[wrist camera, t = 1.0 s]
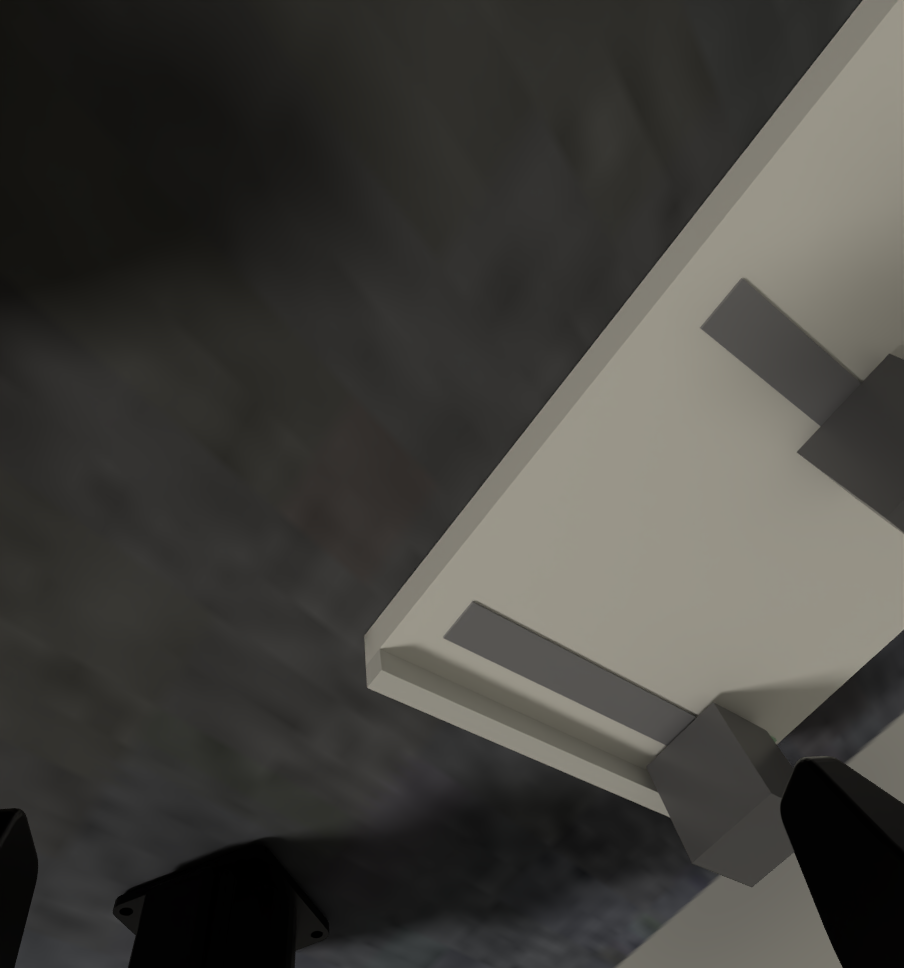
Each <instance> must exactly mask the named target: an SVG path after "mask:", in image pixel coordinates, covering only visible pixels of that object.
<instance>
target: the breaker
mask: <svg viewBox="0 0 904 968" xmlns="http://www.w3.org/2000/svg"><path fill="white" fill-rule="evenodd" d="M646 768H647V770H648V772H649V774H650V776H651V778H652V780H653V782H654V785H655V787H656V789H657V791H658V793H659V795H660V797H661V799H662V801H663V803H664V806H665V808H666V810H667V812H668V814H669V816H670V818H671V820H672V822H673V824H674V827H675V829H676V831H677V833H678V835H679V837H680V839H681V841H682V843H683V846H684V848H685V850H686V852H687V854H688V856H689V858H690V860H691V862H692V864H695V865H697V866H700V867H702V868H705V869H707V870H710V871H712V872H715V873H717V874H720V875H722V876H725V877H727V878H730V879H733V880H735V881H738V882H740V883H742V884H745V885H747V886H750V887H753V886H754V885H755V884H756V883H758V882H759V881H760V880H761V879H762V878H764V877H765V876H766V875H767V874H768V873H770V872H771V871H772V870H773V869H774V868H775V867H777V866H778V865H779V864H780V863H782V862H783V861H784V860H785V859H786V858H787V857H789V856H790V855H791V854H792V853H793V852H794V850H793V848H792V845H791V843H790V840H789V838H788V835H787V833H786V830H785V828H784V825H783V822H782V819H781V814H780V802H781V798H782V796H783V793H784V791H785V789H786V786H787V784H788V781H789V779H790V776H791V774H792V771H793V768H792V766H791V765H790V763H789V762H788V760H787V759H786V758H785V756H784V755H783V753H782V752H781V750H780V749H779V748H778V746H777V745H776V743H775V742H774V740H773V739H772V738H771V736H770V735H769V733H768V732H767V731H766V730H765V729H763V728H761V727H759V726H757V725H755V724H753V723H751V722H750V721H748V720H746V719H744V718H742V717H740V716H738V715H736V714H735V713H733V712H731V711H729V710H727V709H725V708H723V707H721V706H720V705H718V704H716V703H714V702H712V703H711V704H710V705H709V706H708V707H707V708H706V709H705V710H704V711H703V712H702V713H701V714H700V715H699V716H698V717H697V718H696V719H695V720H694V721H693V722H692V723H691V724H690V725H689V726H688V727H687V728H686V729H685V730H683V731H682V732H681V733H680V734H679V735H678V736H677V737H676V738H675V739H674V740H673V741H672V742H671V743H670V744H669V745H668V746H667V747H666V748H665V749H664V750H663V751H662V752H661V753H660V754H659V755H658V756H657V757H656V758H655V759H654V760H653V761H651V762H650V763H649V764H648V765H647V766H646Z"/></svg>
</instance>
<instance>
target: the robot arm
mask: <svg viewBox="0 0 904 968" xmlns="http://www.w3.org/2000/svg"><path fill="white" fill-rule="evenodd" d="M780 814H781V819H782V822H783V825H784V828H785V830H786V833H787V835H788V838H789V840H790V843H791V845H792V848H793V850H794V853H795V855H796V858H797V860H798V863H799V865H800V867H801V870H802V873H803V875H804V877H805V880H806V882H807V885H808V888H809V890H810V892H811V895H812V898H813V900H814V903H815V905H816V907H817V910H818V912H819V915H820V918H821V920H822V922H823V925H824V928H825V930H826V932H827V934H828V936H829V939H830V941H831V944H832V946H833V948H834V950H835V952H836V955H837V957H838V959H839V961H840V963H841V965H842V967H843V968H904V804H903V803H901V802H900V801H898V800H897V799H896V798H894V797H893V796H891V795H890V794H888V793H887V792H885V791H884V790H882V789H881V788H879V787H878V786H876V785H875V784H874V783H872V782H871V781H869V780H868V779H866V778H865V777H863V776H862V775H860V774H859V773H857V772H856V771H854V770H853V769H851V768H850V767H849V766H847V765H846V764H844V763H843V762H841V761H839V760H838V759H836V758H834V757H830V756H817V757H804V758H801V759H800V760H799V761H797V763H796V764H795V766H794V769H793V771H792V774H791V776H790V779H789V781H788V784H787V786H786V789H785V791H784V793H783V796H782V798H781V802H780ZM37 874H38V858H37V853H36V849H35V846H34V842H33V838H32V835H31V831H30V828H29V824H28V820H27V817H26V815H25V813H24V812H23V811H22V810H21V809H17V808H11V809H0V968H14V967H15V963H16V959H17V955H18V952H19V948H20V944H21V940H22V936H23V932H24V928H25V924H26V920H27V916H28V912H29V908H30V905H31V901H32V897H33V893H34V889H35V885H36V880H37ZM113 914H114V916H115V917H116V918H117V919H119V920H120V921H121V922H122V923H123V924H124V925H125V926H126V927H127V928H128V929H129V930H131V931H132V932H133V933H134V934H135V935H136V936H135V940H134V945H133V949H132V953H131V957H130V961H129V965H128V968H295V951H296V950H298V949H301V948H304V947H306V946H309V945H312V944H314V943H317V942H319V941H322V940H324V939H326V938H327V937H328V935H329V923H328V921H327V920H326V918H325V917H324V916H323V915H322V914H321V912H320V911H319V910H318V909H317V907H316V906H315V905H314V904H313V903H312V901H311V900H310V899H309V898H308V897H307V895H306V894H305V893H304V892H303V891H302V889H301V888H300V887H299V886H298V885H297V883H296V882H295V881H294V880H293V878H292V877H291V876H290V875H289V874H288V872H287V871H286V870H285V869H284V868H283V866H282V865H281V864H280V863H279V862H278V860H277V859H276V858H275V857H274V855H273V854H272V853H271V852H270V851H269V849H268V848H266V847H265V846H263V845H251V846H248V847H245V848H243V849H240V850H237V851H235V852H232V853H230V854H227V855H224V856H222V857H219V858H217V859H214V860H211V861H209V862H206V863H204V864H201V865H198V866H196V867H193V868H191V869H188V870H185V871H183V872H180V873H178V874H175V875H172V876H170V877H167V878H165V879H162V880H159V881H157V882H154V883H152V884H149V885H147V886H144V887H141V888H139V889H136V890H134V891H131V892H128V893H126V894H123V895H121V896H119V897H118V898H117V899H116V901H115V905H114V908H113Z"/></svg>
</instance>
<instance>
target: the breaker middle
mask: <svg viewBox="0 0 904 968" xmlns="http://www.w3.org/2000/svg"><path fill="white" fill-rule="evenodd" d="M797 453H798V454H799V455H801V456H802V457H803V458H804V459H806V460H807V461H808V462H810V463H811V464H812V465H813V466H815V467H816V468H817V469H819V470H820V471H821V472H822V473H824V474H825V475H826V476H828V477H829V478H830V479H831V480H833V481H834V482H835V483H837V484H838V485H839V486H840V487H842V488H843V489H844V490H846V491H847V492H848V493H849V494H851V495H852V496H853V497H855V498H856V499H857V500H858V501H860V502H861V503H863V504H864V505H865V506H867V507H868V508H869V509H871V510H872V511H873V512H875V513H876V514H877V515H879V516H880V517H881V518H883V519H884V520H885V521H887V522H888V523H889V524H891V525H892V526H893V527H895V528H896V529H898V530H899V531H900V532H902V533H903V534H904V360H903V359H901V358H899V357H897V356H894V355H892V354H890V353H889V354H888V355H887V356H886V357H885V359H884V360H883V361H882V362H881V363H880V364H879V365H878V366H877V367H876V368H875V369H874V370H873V371H872V372H871V373H870V374H869V376H868V377H867V378H866V379H865V380H864V381H863V382H862V383H861V384H860V385H859V386H858V387H857V388H856V389H855V390H854V392H853V393H852V394H851V395H850V396H849V397H848V398H847V399H846V400H845V401H844V402H843V403H842V404H841V405H840V406H839V407H838V409H837V410H836V411H835V412H834V413H833V414H832V415H831V416H830V417H829V418H828V419H827V420H826V421H825V422H824V423H823V425H822V426H821V427H820V428H819V429H818V430H817V431H816V432H815V433H814V434H813V435H812V436H811V437H810V438H809V439H808V440H807V442H806V443H805V444H804V445H803V446H802V447H801V448H800V449H799V450H798V451H797Z"/></svg>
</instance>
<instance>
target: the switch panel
mask: <svg viewBox="0 0 904 968" xmlns="http://www.w3.org/2000/svg"><path fill="white" fill-rule="evenodd" d="M889 353H890V354H892V355H894V356H897V357H899V358H901V359H903V360H904V0H863V1H862V2H861V3H860V5H859V6H858V7H857V8H856V10H855V11H854V12H853V13H852V15H851V16H850V17H849V19H848V20H847V21H846V22H845V24H844V25H843V26H842V27H841V29H840V30H839V31H838V33H837V34H836V35H835V36H834V38H833V39H832V40H831V42H830V43H829V44H828V45H827V47H826V48H825V49H824V50H823V52H822V53H821V54H820V56H819V57H818V58H817V59H816V61H815V62H814V63H813V64H812V66H811V67H810V68H809V70H808V71H807V72H806V73H805V75H804V76H803V77H802V78H801V80H800V81H799V82H798V84H797V85H796V86H795V87H794V89H793V90H792V91H791V92H790V94H789V95H788V96H787V98H786V99H785V100H784V101H783V103H782V104H781V105H780V107H779V108H778V109H777V110H776V112H775V113H774V114H773V115H772V117H771V118H770V119H769V121H768V122H767V123H766V124H765V126H764V127H763V128H762V129H761V131H760V132H759V133H758V135H757V136H756V137H755V138H754V140H753V141H752V142H751V143H750V145H749V146H748V147H747V149H746V150H745V151H744V152H743V154H742V155H741V156H740V158H739V159H738V160H737V161H736V163H735V164H734V165H733V166H732V168H731V169H730V170H729V172H728V173H727V174H726V175H725V177H724V178H723V179H722V180H721V182H720V183H719V184H718V186H717V187H716V188H715V189H714V191H713V192H712V193H711V194H710V196H709V197H708V198H707V200H706V201H705V202H704V203H703V205H702V206H701V207H700V208H699V210H698V211H697V212H696V214H695V215H694V216H693V217H692V219H691V220H690V221H689V223H688V224H687V225H686V226H685V228H684V229H683V230H682V231H681V233H680V234H679V235H678V237H677V238H676V239H675V240H674V242H673V243H672V244H671V245H670V247H669V248H668V249H667V251H666V252H665V253H664V254H663V256H662V257H661V258H660V259H659V261H658V262H657V263H656V265H655V266H654V267H653V268H652V270H651V271H650V272H649V273H648V275H647V276H646V277H645V279H644V280H643V281H642V282H641V284H640V285H639V286H638V288H637V289H636V290H635V291H634V293H633V294H632V295H631V296H630V298H629V299H628V300H627V302H626V303H625V304H624V305H623V307H622V308H621V309H620V310H619V312H618V313H617V314H616V316H615V317H614V318H613V319H612V321H611V322H610V323H609V324H608V326H607V327H606V328H605V330H604V331H603V332H602V333H601V335H600V336H599V337H598V338H597V340H596V341H595V342H594V344H593V345H592V346H591V347H590V349H589V350H588V351H587V353H586V354H585V355H584V356H583V358H582V359H581V360H580V361H579V363H578V364H577V365H576V367H575V368H574V369H573V370H572V372H571V373H570V374H569V375H568V377H567V378H566V379H565V381H564V382H563V383H562V384H561V386H560V387H559V388H558V389H557V391H556V392H555V393H554V395H553V396H552V397H551V398H550V400H549V401H548V402H547V404H546V405H545V406H544V407H543V409H542V410H541V411H540V412H539V414H538V415H537V416H536V418H535V419H534V420H533V421H532V423H531V424H530V425H529V426H528V428H527V429H526V430H525V432H524V433H523V434H522V435H521V437H520V438H519V439H518V440H517V442H516V443H515V444H514V446H513V447H512V448H511V449H510V451H509V452H508V453H507V454H506V456H505V457H504V458H503V460H502V461H501V462H500V463H499V465H498V466H497V467H496V469H495V470H494V471H493V472H492V474H491V475H490V476H489V477H488V479H487V480H486V481H485V483H484V484H483V485H482V486H481V488H480V489H479V490H478V491H477V493H476V494H475V495H474V497H473V498H472V499H471V500H470V502H469V503H468V504H467V505H466V507H465V508H464V509H463V511H462V512H461V513H460V514H459V516H458V517H457V518H456V519H455V521H454V522H453V523H452V525H451V526H450V527H449V528H448V530H447V531H446V532H445V534H444V535H443V536H442V537H441V539H440V540H439V541H438V542H437V544H436V545H435V546H434V548H433V549H432V550H431V551H430V553H429V554H428V555H427V556H426V558H425V559H424V560H423V562H422V563H421V564H420V565H419V567H418V568H417V569H416V570H415V572H414V573H413V574H412V576H411V577H410V578H409V579H408V581H407V582H406V583H405V584H404V586H403V587H402V588H401V590H400V591H399V592H398V593H397V595H396V596H395V597H394V599H393V600H392V601H391V602H390V604H389V605H388V606H387V607H386V609H385V610H384V611H383V613H382V614H381V615H380V616H379V618H378V619H377V620H376V621H375V623H374V624H373V625H372V627H371V628H370V629H369V630H368V632H367V633H366V634H365V635H364V640H365V658H366V675H367V688H369V689H371V690H374V691H376V692H378V693H381V694H383V695H385V696H388V697H390V698H392V699H395V700H397V701H399V702H402V703H404V704H406V705H409V706H411V707H413V708H416V709H418V710H420V711H423V712H425V713H427V714H430V715H432V716H434V717H437V718H439V719H441V720H444V721H446V722H448V723H451V724H453V725H455V726H458V727H460V728H462V729H465V730H467V731H469V732H472V733H474V734H476V735H479V736H481V737H483V738H486V739H488V740H490V741H493V742H495V743H497V744H500V745H502V746H504V747H507V748H509V749H511V750H514V751H516V752H518V753H521V754H523V755H525V756H528V757H530V758H532V759H535V760H537V761H539V762H542V763H544V764H546V765H549V766H551V767H553V768H556V769H558V770H560V771H563V772H565V773H567V774H570V775H572V776H574V777H577V778H579V779H581V780H584V781H586V782H588V783H591V784H593V785H595V786H598V787H600V788H602V789H605V790H607V791H609V792H612V793H614V794H616V795H619V796H621V797H624V798H626V799H628V800H631V801H633V802H635V803H638V804H640V805H642V806H645V807H647V808H649V809H652V810H654V811H656V812H659V813H661V814H663V815H666V816H668V817H670V816H669V814H668V812H667V810H666V808H665V806H664V803H663V801H662V799H661V797H660V795H659V793H658V791H657V789H656V787H655V785H654V782H653V780H652V778H651V776H650V774H649V772H648V770H647V768H646V766H647V765H648V764H649V763H650V762H651V761H653V760H654V759H655V758H656V757H657V756H658V755H659V754H660V753H661V752H662V751H663V750H664V749H665V748H666V747H667V746H668V745H669V744H670V743H671V742H672V741H673V740H674V739H675V738H676V737H677V736H678V735H679V734H680V733H681V732H682V731H683V730H685V729H686V728H687V727H688V726H689V725H690V724H691V723H692V722H693V721H694V720H695V719H696V718H697V717H698V716H699V715H700V714H701V713H702V712H703V711H704V710H705V709H706V708H707V707H708V706H709V705H710V704H711V703H712V702H714V703H716V704H718V705H720V706H721V707H723V708H725V709H727V710H729V711H731V712H733V713H735V714H736V715H738V716H740V717H742V718H744V719H746V720H748V721H750V722H751V723H753V724H755V725H757V726H759V727H761V728H763V729H765V730H766V731H767V732H768V733H769V735H770V736H771V738H772V739H773V740H774V742H775V743H776V745H777V744H778V743H779V742H780V741H781V740H782V739H783V738H785V737H786V736H787V735H788V734H789V733H790V732H791V731H792V730H793V729H794V728H796V727H797V726H798V725H799V724H800V723H801V722H802V721H803V720H804V719H805V718H807V717H808V716H809V715H810V714H811V713H812V712H813V711H814V710H815V709H816V708H818V707H819V706H820V705H821V704H822V703H823V702H824V701H825V700H826V699H828V698H829V697H830V696H831V695H832V694H833V693H834V692H835V691H836V690H837V689H839V688H840V687H841V686H842V685H843V684H844V683H845V682H846V681H847V680H848V679H850V678H851V677H852V676H853V675H854V674H855V673H856V672H857V671H858V670H859V669H861V668H862V667H863V666H864V665H865V664H866V663H867V662H868V661H869V660H870V659H872V658H873V657H874V656H875V655H876V654H877V653H878V652H879V651H880V650H882V649H883V648H884V647H885V646H886V645H887V644H888V643H889V642H890V641H891V640H893V639H894V638H895V637H896V636H897V635H898V634H899V633H900V632H901V631H902V630H904V534H903V533H902V532H900V531H899V530H898V529H896V528H895V527H893V526H892V525H891V524H889V523H888V522H887V521H885V520H884V519H883V518H881V517H880V516H879V515H877V514H876V513H875V512H873V511H872V510H871V509H869V508H868V507H867V506H865V505H864V504H863V503H861V502H860V501H858V500H857V499H856V498H855V497H853V496H852V495H851V494H849V493H848V492H847V491H846V490H844V489H843V488H842V487H840V486H839V485H838V484H837V483H835V482H834V481H833V480H831V479H830V478H829V477H828V476H826V475H825V474H824V473H822V472H821V471H820V470H819V469H817V468H816V467H815V466H813V465H812V464H811V463H810V462H808V461H807V460H806V459H804V458H803V457H802V456H801V455H799V454H798V453H797V451H798V450H799V449H800V448H801V447H802V446H803V445H804V444H805V443H806V442H807V440H808V439H809V438H810V437H811V436H812V435H813V434H814V433H815V432H816V431H817V430H818V429H819V428H820V427H821V426H822V425H823V423H824V422H825V421H826V420H827V419H828V418H829V417H830V416H831V415H832V414H833V413H834V412H835V411H836V410H837V409H838V407H839V406H840V405H841V404H842V403H843V402H844V401H845V400H846V399H847V398H848V397H849V396H850V395H851V394H852V393H853V392H854V390H855V389H856V388H857V387H858V386H859V385H860V384H861V383H862V382H863V381H864V380H865V379H866V378H867V377H868V376H869V374H870V373H871V372H872V371H873V370H874V369H875V368H876V367H877V366H878V365H879V364H880V363H881V362H882V361H883V360H884V359H885V357H886V356H887V355H888V354H889Z"/></svg>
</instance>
